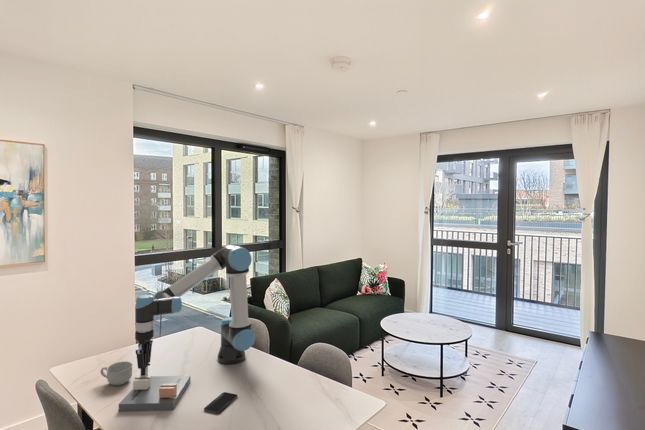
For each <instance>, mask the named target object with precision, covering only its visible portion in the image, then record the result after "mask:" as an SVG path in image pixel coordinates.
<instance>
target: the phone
mask: <svg viewBox="0 0 645 430" xmlns="http://www.w3.org/2000/svg"><path fill="white" fill-rule="evenodd" d="M237 399H238V394H237V393H230V392H226V391H225V392H222V393H220V394H219V395H218V396H217V397H215V399H213V400H212V401H211V402H210V403H208V404H207V405H206V406H205V407H204V408H203V412H205V413H208V414H214V415H221V413H222V412H223V411H224V410H226V409H227V408H228V407H230V405H231V404H232V403H233V402H234V401H236V400H237Z"/></svg>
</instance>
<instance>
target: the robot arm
mask: <svg viewBox="0 0 645 430" xmlns="http://www.w3.org/2000/svg"><path fill="white" fill-rule="evenodd" d="M252 261H253V260H252V255H251V253H250V251H249V250H248V249H247V248H245V247H244V246H238V245H234V244H229V245H228V244H227V245H226V246H224V247H222V248H221V249H219V250H218V251H216V252H214V253H213V254H211V255H210V258H209V259H208V260H206V261H204V262H203V263H201V264H200V265H199V266H197V267H195V269H193V270H191V271H190V272H189V273H187V274H186V275H184V276H183V277H181V278H180V279H178V280H177V281H175V282H174V283H173V284H170V285H169V286H168V287H167V288H165V289H163V290H158V291H157V292H156V293H155V294H154V295H152V294H143V295H139V296H137V297H136V299H135V309H134V311H135V312H134V313H135V317H134V318H135V322H134V326H135V328H134V329H135V333H134V336H135V337H134V338H135V340H136V341H138V344H137V347H138V349H135V356H136V361H137V369H138V370H140V373H139V374H140V375H139V377H140V376H149V367H150V366H151V358H152V345H153V344H154V343H153V338H154V332H155V331H154V328H155V317H156V316H163V315H172V314H175V313H176V314H177V313H180V312H182V308H183V304H182V303H183V302H182V298H181V297H182V296H184V295H185V294H186V293H188V292H189V291H190V290H193V288H195V287H196V286H198V285H199V284H200V283H202V282H204V281H205V280H206V279H207V278H210V277H211V276H212V275H213V274H215V273H216V272H218V271H222V270H223V269H225V273H226V275H227V276H228V277H229V291H230V292H229V293H230V311H231V312H230V313H231V314H230V315H231V316H229V317H225V318H222V319H221V320H220V321H221V322H220V348H219V350H218V353H217V362H218V363H220V364H223V365H235V364H238V363H239V364H240V363H241V362H243V361H244V360H245V359H246V351H247V350H250V348H252V346H253V345H254V344H255V341H256V333H255V332H254V331H253V329H252V328H253V327H252V326H253V325H252V321H251V320H250V318H249V305H248V289H247V288H248V286H247V285H248V283H247V274H248V273H249V272H250V270H249V268H250V266H251V264H252Z"/></svg>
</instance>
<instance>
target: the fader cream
mask: <svg viewBox="0 0 645 430" xmlns="http://www.w3.org/2000/svg"><path fill="white" fill-rule="evenodd" d="M151 376H152V375H148V376H140V375H139V376H135V377H134V379H133V380H132V389H133V390H145V389H148V388H149V386H150V385H151Z"/></svg>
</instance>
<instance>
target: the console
mask: <svg viewBox="0 0 645 430" xmlns="http://www.w3.org/2000/svg"><path fill="white" fill-rule="evenodd" d="M150 376H151V385H150V386H149V388H148V389H145V390H133V388H132V389H131V390H130V391H129V392H128V393H127V394H126V395H125V397H124V398H123V399H121V401H120V402H119V403H118V412H137V411H138V412H141V411H142V412H143V411H146V412H147V411H173V410H174V409H175V408H176V406H177V405H178V403H179V401H180V399H181V398H182V396H183V394H184V393H185V391H186V390H187V388H188V387H189V385H190V383H191V375H164V376H163V375H161V376H160V375H158V376H157V375H156V376H152V375H150ZM162 384H177V393H176V394H175V396H174V397H172V398H159V388H160V386H161V385H162Z"/></svg>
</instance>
